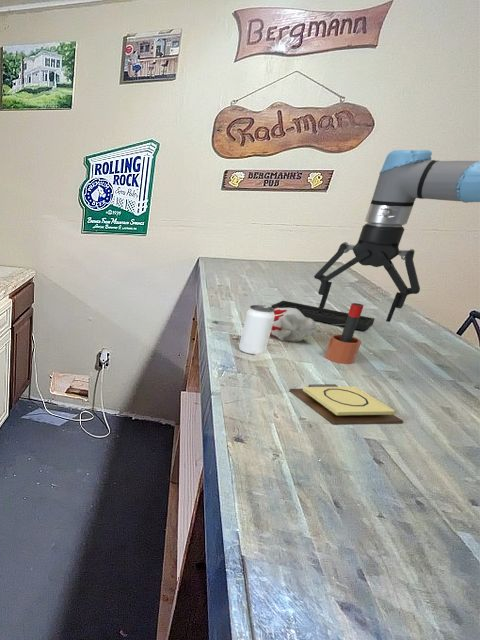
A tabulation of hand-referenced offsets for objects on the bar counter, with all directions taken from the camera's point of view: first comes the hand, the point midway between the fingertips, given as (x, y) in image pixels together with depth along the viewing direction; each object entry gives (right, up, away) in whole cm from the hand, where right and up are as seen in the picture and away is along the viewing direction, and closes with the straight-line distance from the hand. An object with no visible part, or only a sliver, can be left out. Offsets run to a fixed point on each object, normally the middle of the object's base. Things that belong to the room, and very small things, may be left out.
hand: (353, 314), depth 112 cm
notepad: (-15, -20, -18) cm, 31 cm away
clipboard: (-15, -21, -17) cm, 31 cm away
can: (-19, -9, +11) cm, 24 cm away
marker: (0, -11, +5) cm, 12 cm away
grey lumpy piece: (-6, -5, +20) cm, 22 cm away
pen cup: (0, -11, +5) cm, 13 cm away
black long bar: (+15, +2, +35) cm, 38 cm away
